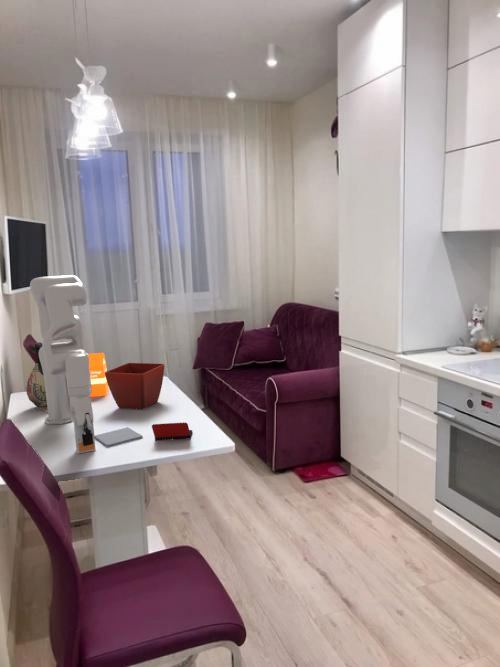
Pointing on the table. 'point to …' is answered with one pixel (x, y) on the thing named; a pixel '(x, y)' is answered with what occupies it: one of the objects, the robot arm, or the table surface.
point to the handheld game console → (171, 431)
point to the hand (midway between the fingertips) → (85, 442)
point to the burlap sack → (37, 382)
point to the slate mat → (117, 437)
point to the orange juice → (98, 374)
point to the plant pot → (135, 384)
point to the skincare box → (79, 439)
